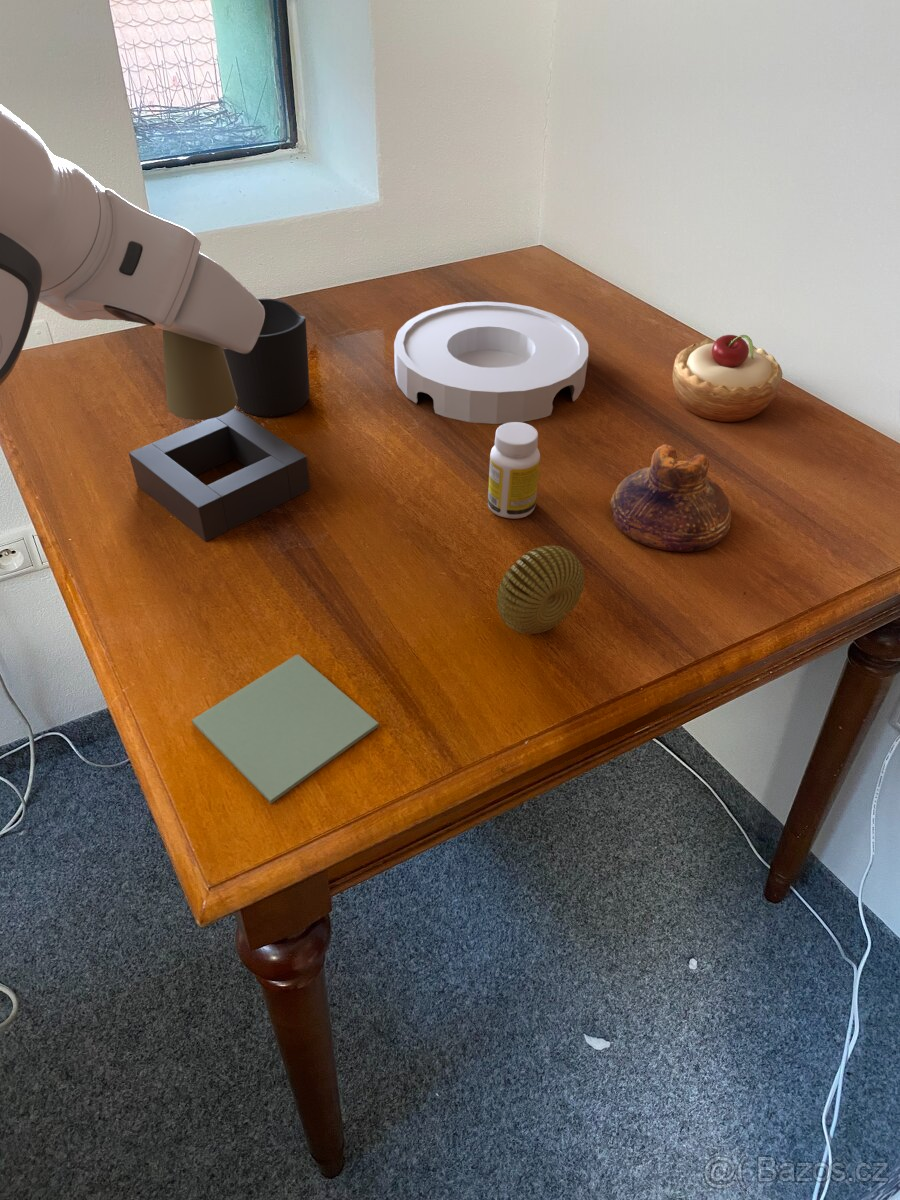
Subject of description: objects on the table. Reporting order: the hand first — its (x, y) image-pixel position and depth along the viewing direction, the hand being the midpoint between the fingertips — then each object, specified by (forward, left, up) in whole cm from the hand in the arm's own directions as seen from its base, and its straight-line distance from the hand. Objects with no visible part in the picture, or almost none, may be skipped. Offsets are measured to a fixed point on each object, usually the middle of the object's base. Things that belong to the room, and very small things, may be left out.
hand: (195, 330), depth 73 cm
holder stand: (+2, +4, -19) cm, 19 cm away
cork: (-1, 0, -7) cm, 7 cm away
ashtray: (+39, +2, -19) cm, 43 cm away
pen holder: (+16, +15, -19) cm, 29 cm away
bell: (+31, -30, -19) cm, 47 cm away
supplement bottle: (+21, -18, -19) cm, 34 cm away
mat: (-12, -25, -19) cm, 34 cm away
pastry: (+54, -21, -19) cm, 61 cm away
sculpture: (+10, -31, -19) cm, 38 cm away
